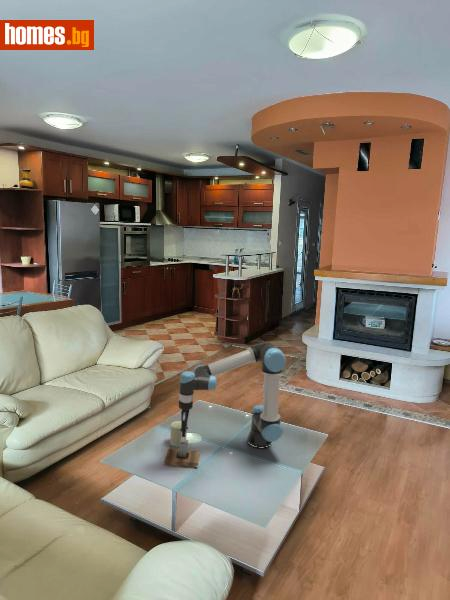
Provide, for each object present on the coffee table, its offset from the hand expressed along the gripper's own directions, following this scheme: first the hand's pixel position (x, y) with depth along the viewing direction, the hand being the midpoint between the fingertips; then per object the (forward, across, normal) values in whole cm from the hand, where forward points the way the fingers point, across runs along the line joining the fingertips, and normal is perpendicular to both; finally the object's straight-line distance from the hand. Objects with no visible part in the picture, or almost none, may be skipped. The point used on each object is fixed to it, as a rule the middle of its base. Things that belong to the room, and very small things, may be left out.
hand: (183, 440), depth 222 cm
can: (+12, -18, -5) cm, 22 cm away
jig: (+12, 0, 0) cm, 12 cm away
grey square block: (+12, 0, 0) cm, 12 cm away
